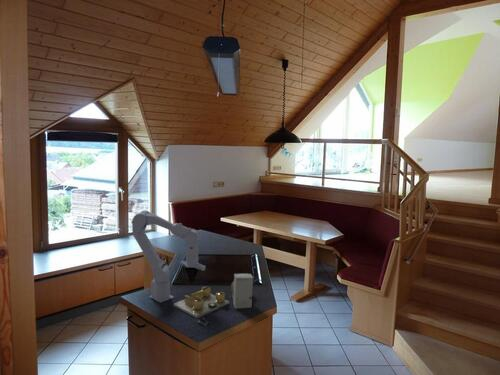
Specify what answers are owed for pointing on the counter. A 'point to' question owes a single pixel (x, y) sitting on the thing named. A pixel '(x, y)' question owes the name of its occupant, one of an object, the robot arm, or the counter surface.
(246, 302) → the skincare box
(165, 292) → the robot arm
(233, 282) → the ceramic mug
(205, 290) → the knob
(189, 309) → the levelling plate
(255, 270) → the counter surface
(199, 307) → the knob
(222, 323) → the counter surface
